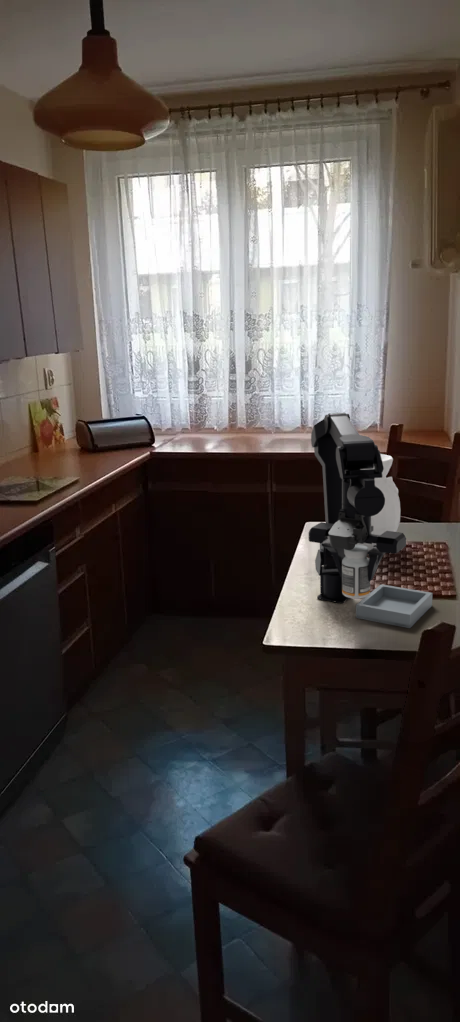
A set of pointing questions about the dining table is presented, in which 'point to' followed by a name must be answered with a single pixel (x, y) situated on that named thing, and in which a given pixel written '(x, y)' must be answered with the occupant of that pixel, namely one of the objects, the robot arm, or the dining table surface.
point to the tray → (394, 605)
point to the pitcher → (386, 503)
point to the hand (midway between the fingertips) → (356, 578)
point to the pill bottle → (355, 573)
